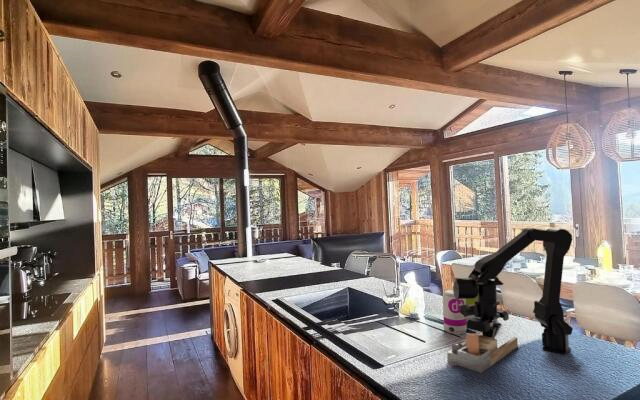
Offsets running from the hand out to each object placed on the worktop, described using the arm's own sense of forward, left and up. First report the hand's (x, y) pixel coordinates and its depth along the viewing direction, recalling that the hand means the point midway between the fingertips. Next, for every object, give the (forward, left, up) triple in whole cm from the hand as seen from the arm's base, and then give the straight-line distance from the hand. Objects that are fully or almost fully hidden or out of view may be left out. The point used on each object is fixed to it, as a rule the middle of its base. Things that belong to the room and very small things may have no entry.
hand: (488, 345), depth 120 cm
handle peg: (-2, +14, +1) cm, 14 cm away
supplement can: (+17, -9, -2) cm, 20 cm away
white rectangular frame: (0, +14, -2) cm, 14 cm away
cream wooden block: (0, +6, -2) cm, 6 cm away
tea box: (+18, -28, -2) cm, 34 cm away
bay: (0, +1, -2) cm, 2 cm away
